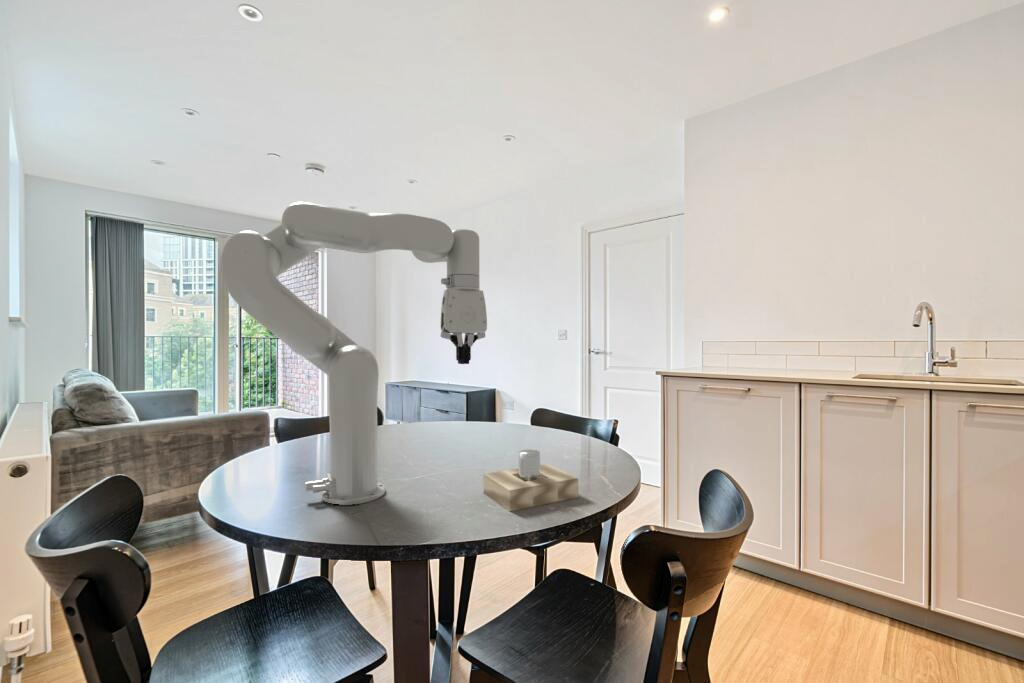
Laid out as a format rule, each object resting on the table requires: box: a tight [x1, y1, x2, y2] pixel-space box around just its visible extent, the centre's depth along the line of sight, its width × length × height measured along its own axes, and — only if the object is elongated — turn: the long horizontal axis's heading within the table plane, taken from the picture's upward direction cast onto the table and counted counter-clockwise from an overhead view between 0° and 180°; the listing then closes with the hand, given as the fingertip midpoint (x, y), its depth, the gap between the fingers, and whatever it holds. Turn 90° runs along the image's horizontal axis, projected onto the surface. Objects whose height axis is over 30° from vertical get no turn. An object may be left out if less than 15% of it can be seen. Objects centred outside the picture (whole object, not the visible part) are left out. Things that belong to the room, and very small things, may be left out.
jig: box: [482, 463, 579, 512], centre depth 94 cm, size 16×12×4 cm
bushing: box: [518, 449, 541, 482], centre depth 94 cm, size 4×4×9 cm
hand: (463, 363), depth 104 cm, fingers closed
